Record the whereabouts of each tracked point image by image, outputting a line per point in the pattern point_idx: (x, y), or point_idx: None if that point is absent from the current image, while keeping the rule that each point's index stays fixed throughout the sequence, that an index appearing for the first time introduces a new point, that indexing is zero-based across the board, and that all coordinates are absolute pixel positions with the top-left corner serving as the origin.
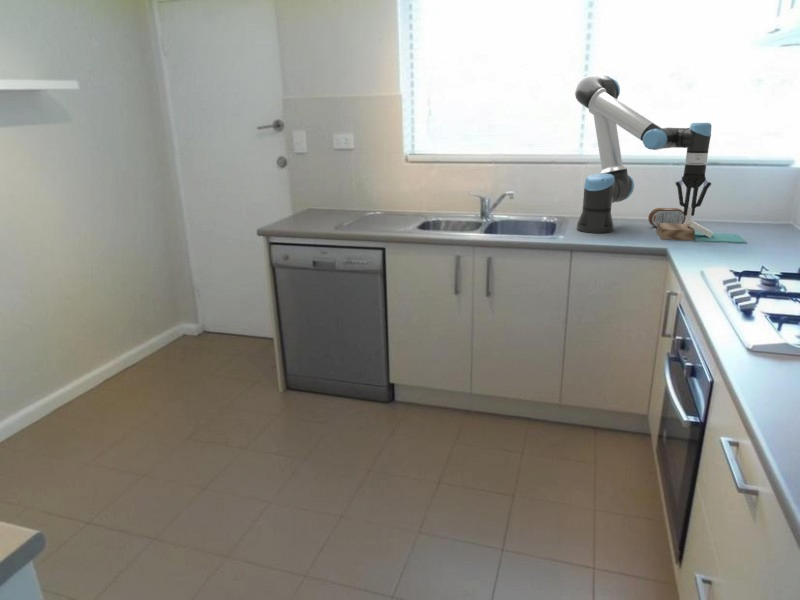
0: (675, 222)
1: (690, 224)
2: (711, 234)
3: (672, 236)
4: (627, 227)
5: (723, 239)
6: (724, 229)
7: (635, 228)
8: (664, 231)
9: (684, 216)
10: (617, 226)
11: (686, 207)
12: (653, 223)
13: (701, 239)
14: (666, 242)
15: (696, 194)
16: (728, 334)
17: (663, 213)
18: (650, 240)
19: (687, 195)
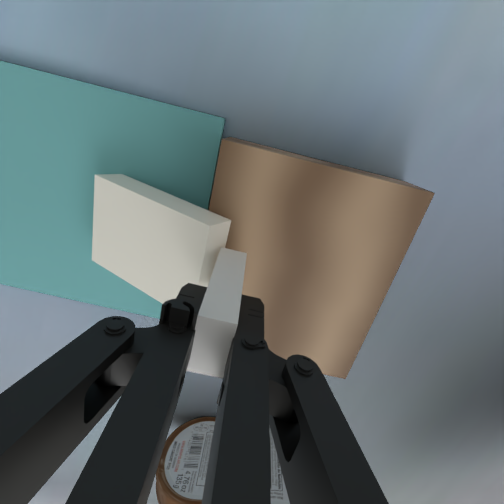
0: (207, 438)
1: (219, 240)
2: (108, 175)
3: (349, 168)
4: (416, 428)
5: (55, 129)
6: (10, 382)
7: (391, 410)
8: (410, 185)
9: (162, 465)
10: (449, 445)
11: (252, 334)
12: None
13: (185, 127)
14: (420, 81)
15: (95, 476)
16: None
17: (270, 488)
18: (486, 143)
19: (255, 480)
